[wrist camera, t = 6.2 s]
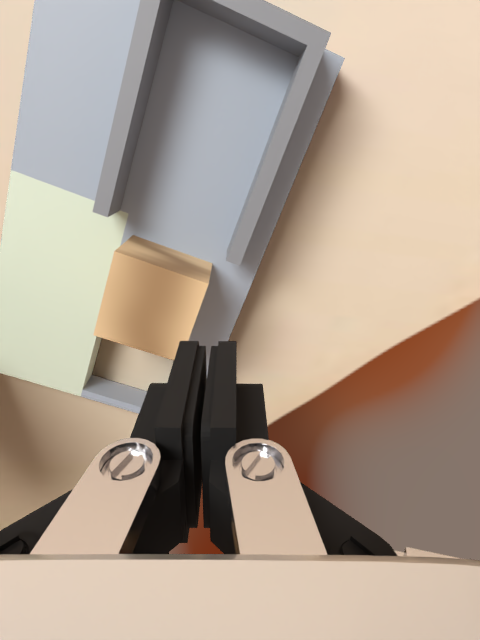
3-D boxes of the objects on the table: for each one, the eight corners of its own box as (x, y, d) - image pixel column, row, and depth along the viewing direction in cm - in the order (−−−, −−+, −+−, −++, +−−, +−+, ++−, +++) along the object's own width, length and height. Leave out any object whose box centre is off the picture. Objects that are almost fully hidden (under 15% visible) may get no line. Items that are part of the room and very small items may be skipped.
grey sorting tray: (-1, 354, 29) (-41, 388, 25) (64, -62, 19) (18, -119, 15) (194, 412, 31) (188, 452, 27) (335, 65, 22) (359, 46, 18)
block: (113, 308, 25) (93, 335, 22) (132, 234, 23) (114, 251, 20) (188, 332, 26) (180, 362, 22) (212, 263, 24) (208, 284, 20)
